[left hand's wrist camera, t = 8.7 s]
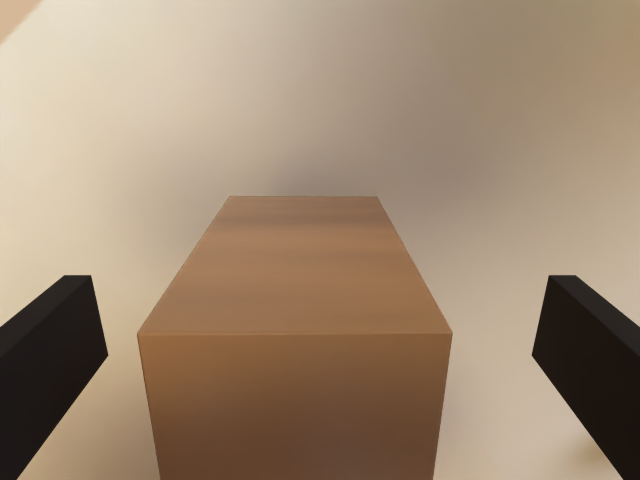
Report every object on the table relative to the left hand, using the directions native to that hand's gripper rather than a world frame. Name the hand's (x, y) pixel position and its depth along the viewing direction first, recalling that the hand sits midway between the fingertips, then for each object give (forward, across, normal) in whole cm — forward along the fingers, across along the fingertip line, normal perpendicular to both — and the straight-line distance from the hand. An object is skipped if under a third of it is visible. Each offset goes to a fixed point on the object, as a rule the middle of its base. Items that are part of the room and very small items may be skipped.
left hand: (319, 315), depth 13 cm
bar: (+3, -1, -8) cm, 9 cm away
